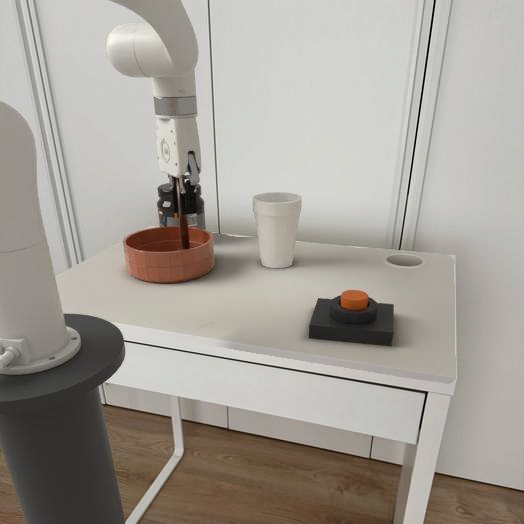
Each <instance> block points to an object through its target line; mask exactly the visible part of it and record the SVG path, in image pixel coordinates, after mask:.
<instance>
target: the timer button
mask: <svg viewBox="0 0 524 524" xmlns="http://www.w3.org/2000/svg"><path fill="white" fill-rule="evenodd" d="M340 295H341V304H340V305H341V307H344V308H347V309H352V310H360V309H365V308H367V305H368V297H369V294H368V293H367V292H365V291H364V290H360V289H347V290H344V291H342V292H341V294H340Z"/></svg>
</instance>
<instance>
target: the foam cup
mask: <svg viewBox="0 0 524 524" xmlns="http://www.w3.org/2000/svg"><path fill="white" fill-rule="evenodd" d="M302 199H303V198H302V196H301V195H300V194H297V193H293V192H287V191H285V192H283V191H271V192H270V191H269V192H263V193H257V194H256V195H253V197H252V212H253V215H254V216H253V217H254V222H255V228H256V237H257V244H258V250H259V256H260V263H261V265H262V266H264V267H267V268H271V269H284V268H288V267H291V266H292V265H293V261H294V255H295V248H296V242H297V235H298V229H299V224H300V223H299V222H300V215H301V212H302V203H303V201H302Z"/></svg>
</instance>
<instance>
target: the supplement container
mask: <svg viewBox="0 0 524 524" xmlns="http://www.w3.org/2000/svg"><path fill="white" fill-rule="evenodd" d="M185 183H186V181H185ZM156 188H157V189H156V190H157V197H158V200H157V201H156V208H157V215H158V224H159V227H164V226H180V220H179V210H177V211H175V210H173V207H172V196H171V190H172V189H171V188H170V183H169V182H166V183H162V184H160V185H158V186H157V187H156ZM202 194H203V191H202V185H201V184H200V183H198V184H197V185H196V204H197V212H196V213H193V214H187V218H188V226H189V227H196V228H200V229H204V230H207V228H206V227H207V226H206V213H205V212H206V210H205V205H206V202H205V199H204V198H203V197H202Z"/></svg>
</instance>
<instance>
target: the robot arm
mask: <svg viewBox="0 0 524 524" xmlns="http://www.w3.org/2000/svg"><path fill="white" fill-rule="evenodd" d="M108 1H109V2H112V3H115V4H117V5H119V6H121V7H124V8H126V9H127V10H130V12H133V13H135V14H136V15H138V16H139V17H141V19H143V21H141V22H140V21H139V22H126V23H122V24H118V25H117V26H115V27H114V28H112V30H111V31H110V32H109V34H108V36H107V39H106V44H105V46H106V47H105V49H106V55H107V58H108V60H109V62H110V64H111V65H112V67H113V68H114V69H115V70H116V71H117V72H118V73H120V75H123V76H125V77H129V78H151V86H152V95H153V106H154V107H153V108H154V116H155V119H156V121H155V122H156V128H155V131H156V133H155V134H156V135H155V136H156V151H157V165H158V169H159V170H160V171H161V172H162V173H164V174H166V175H167V178H168V179H169V181H168V183H170V188H171V189H172V190H171V196H172V207H173V210H175V211H177V210H179V209H178V198H177V187H176V178H179V182H180V190H181V193H179V199H180V210H181V214H182V215H187V214H193V213H196V212H197V204H196V185H197V184H200V182H201V177H200V174H201V173H202V152H201V145H200V135H199V134H200V133H199V129H198V123H197V122H198V121H197V117H198V116H199V115H198V98H197V97H198V96H197V85H196V71H195V69H196V67H197V65H198V61H199V55H200V53H199V43H198V39H197V35H196V32H195V29H194V27H193V24H192V22H191V19H190V17H189V15H188V13H187V10H186V8H185V6H184V4H183V2H182V0H108ZM37 153H38V152H37V145H36V139H35V136H34V133H33V131H32V128H31V126H30V125H29V123H28V121H27V120H26V118H24V116H23V115H22V114H21V113H20V112H19V111H18V110H16V108H14V107H12V106H11V105H10V104H8V103H6V102H4V101H2V100H0V374H6V375H23V374H31V373H36V372H41V371H44V370H48V369H51V368H53V367H56V366H59V365H61V364H63V363H64V362H66V361H68V360H69V359H71V358H72V357H73V356H74V355H75V354H77V352H78V351H79V350H80V348H81V338H80V335H79V333H78V332H77V331H76V330H74V329H72V328H70V327H67V326H66V324H65V320H64V315H63V313H64V311H63V307H62V302H61V298H60V297H61V296H60V293H59V288H58V284H57V279H56V274H55V270H54V269H55V268H54V264H53V261H52V256H51V251H50V247H49V243H48V238H47V234H46V230H45V229H46V228H45V225H44V220H43V215H42V210H41V204H40V198H39V189H38V187H39V186H38V157H37V155H38V154H37ZM186 173H188V174H186ZM185 182H186V183H185Z"/></svg>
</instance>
